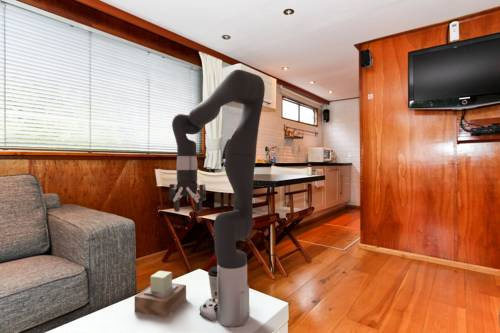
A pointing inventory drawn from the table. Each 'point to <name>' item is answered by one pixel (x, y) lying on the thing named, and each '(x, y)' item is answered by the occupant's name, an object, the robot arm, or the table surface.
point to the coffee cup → (213, 282)
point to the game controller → (209, 309)
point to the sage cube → (161, 281)
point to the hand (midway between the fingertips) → (187, 211)
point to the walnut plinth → (160, 300)
